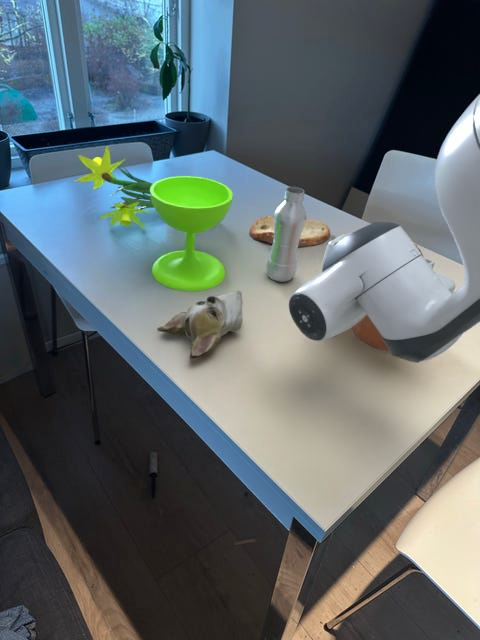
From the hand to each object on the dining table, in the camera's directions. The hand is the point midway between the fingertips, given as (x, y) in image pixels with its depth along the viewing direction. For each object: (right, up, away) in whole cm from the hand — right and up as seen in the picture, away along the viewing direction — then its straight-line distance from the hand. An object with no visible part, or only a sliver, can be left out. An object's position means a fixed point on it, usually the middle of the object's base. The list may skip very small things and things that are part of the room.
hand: (410, 256), depth 77 cm
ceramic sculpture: (-36, -14, +3) cm, 38 cm away
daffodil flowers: (-52, +15, +39) cm, 67 cm away
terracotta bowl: (-2, -13, +10) cm, 17 cm away
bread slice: (-17, +11, +39) cm, 44 cm away
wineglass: (-41, 0, +20) cm, 45 cm away
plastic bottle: (-21, -2, +22) cm, 30 cm away
